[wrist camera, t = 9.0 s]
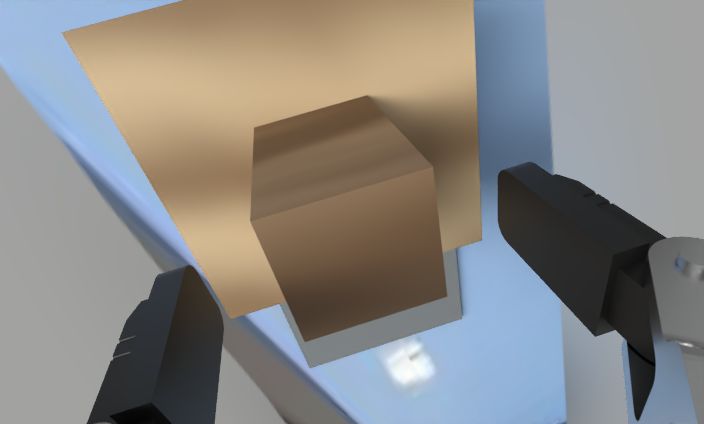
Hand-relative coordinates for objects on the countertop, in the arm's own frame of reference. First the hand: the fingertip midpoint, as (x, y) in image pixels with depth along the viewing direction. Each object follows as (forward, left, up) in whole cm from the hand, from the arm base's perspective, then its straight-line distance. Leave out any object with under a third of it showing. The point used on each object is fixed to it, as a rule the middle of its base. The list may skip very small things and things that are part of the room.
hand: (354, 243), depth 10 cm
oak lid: (0, 0, -6) cm, 6 cm away
